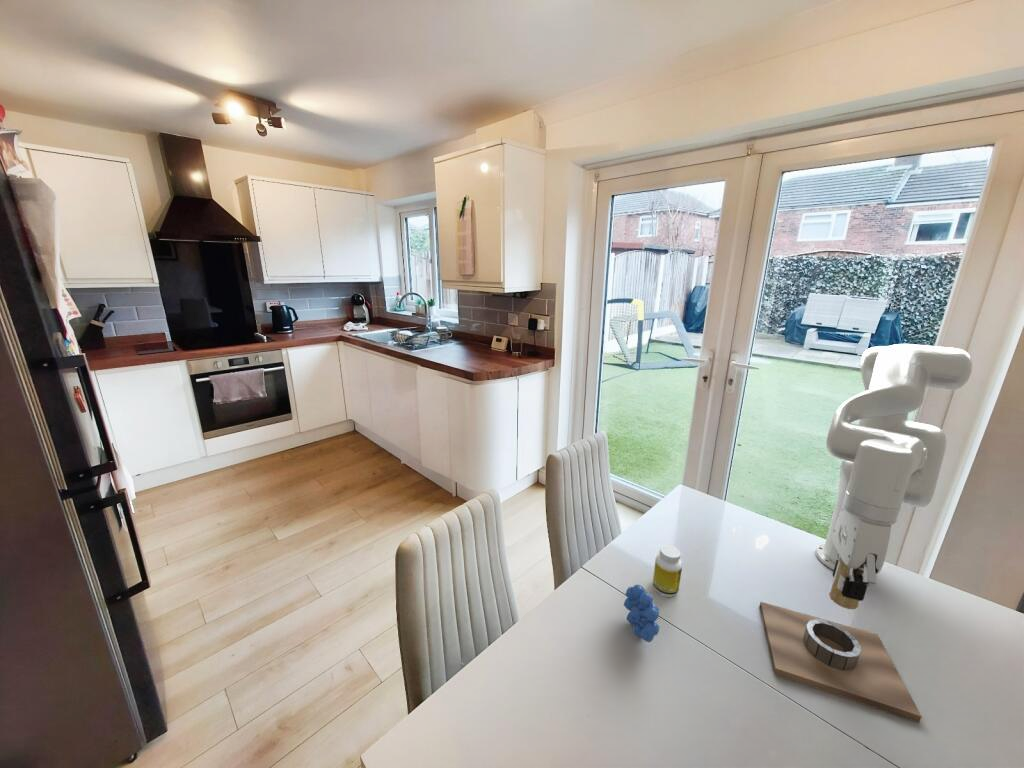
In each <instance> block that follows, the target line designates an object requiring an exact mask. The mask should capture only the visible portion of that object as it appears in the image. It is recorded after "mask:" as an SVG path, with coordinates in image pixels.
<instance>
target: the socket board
mask: <svg viewBox="0 0 1024 768" xmlns="http://www.w3.org/2000/svg"><path fill="white" fill-rule="evenodd" d="M758 607H759V612H760V616H761V620H762V624H763V628H764V634H765V637H766V638H765V639H766V643H767V647H768V648H767V649H768V652H769V656H770V657H769V658H770V662H771V666H772V670H773V675H776V676H779V677H782V678H785V679H789V680H791V681H793V682H797V683H800V684H803V685H805V686H810V687H812V688H814V689H818V690H821V691H823V692H826V693H829V694H833V695H836V696H839V697H842V698H845V699H848V700H851V701H854V702H856V703H860V704H863V705H865V706H869V707H872V708H873V709H877V710H880V711H884V712H886V713H890V714H892V715H895V716H898V717H902V718H905V719H907V720H911V721H914V722H917V723H920V722H921V719H922V714H921V713H920V711H919V709H918V707H917V705H916V703H915V701H914V699H913V697H912V696H911V694H910V692H909V690H908V688H907V686H906V684H905V683H904V681H903V678H902V677H901V674H900V673H899V670H897V669H898V668H897V667H896V666H895V664H894V662H893V660H892V658H891V656H890V654H889V652H888V651H887V648H886V647H885V645H884V644H883V642H882V639H881V637H880V636H879V634H878V633H874V632H871V631H867V630H863V629H860V628H857V627H852V626H849V625H845V624H842V623H839V622H836V621H831V620H828V619H825V618H821V617H817V616H813V615H810V614H808V613H807V614H806V613H802V612H800V611H795V610H791V609H788V608H784V607H781V606H777V605H774V604H770V603H766V602H763V601H760V602H759V606H758ZM815 619H822V620H825V621H829V622H832V623H834V624H836V625H838V626H840V627H842V628H843V629H845V630H846V631H848V632H849V633H850V634H851V635H852V636H853V637H854V638H855V639H856V640H857V641H858V643H859V645H860V647H861V652H860V656H859V659H858V662H857V664H856V666H855V668H854V669H853V670H848V671H842V670H838V669H835V668H832V667H830V666H827V665H826V664H824V663H823V662H821V661H819V660H818V659H816V657H814V656H813V655H812V654H811V653H810V652H809V651H808V649H807V648H806V647H805V644H804V641H803V636H804V632H805V629H806V625H807V624H808V622H809V621H810V620H815ZM816 637H817V638H818V639H819V640H820V641H821V642H822V643H824V644H826V645H827V646H829V647H831V648H832V649H835V650H838V651H841V652H846V651H845V650H844V649H843V648H842V647H841V646H840V645H839V644H837V643H835V642H833V641H832V640H830V639H827V638H824V637H821V636H816Z"/></svg>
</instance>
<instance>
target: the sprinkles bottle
mask: <svg viewBox="0 0 1024 768" xmlns="http://www.w3.org/2000/svg"><path fill="white" fill-rule="evenodd" d="M861 566H864V564H862V565H861ZM849 571H850V568H849V567H847V566H846V565H845V563H844V562H843V560H842V558H841V557H840V559H839V561H838V564H837V568H836V572H835V576H834V577H833V578H832V579H833V580H832V586H831V589H830V592H828V596H829V598H830V600H831V601H832V602H833V603H835V604H836V605H837V606H839V607H841V608H844V609H847V610H856V609H858V608H859V600H855V599H852V598H848V597H844V596H843V595H842V593H841V592H842V589H843V585H844V582H845V578H846V577H849ZM856 574H864V571H860V570H856Z"/></svg>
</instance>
